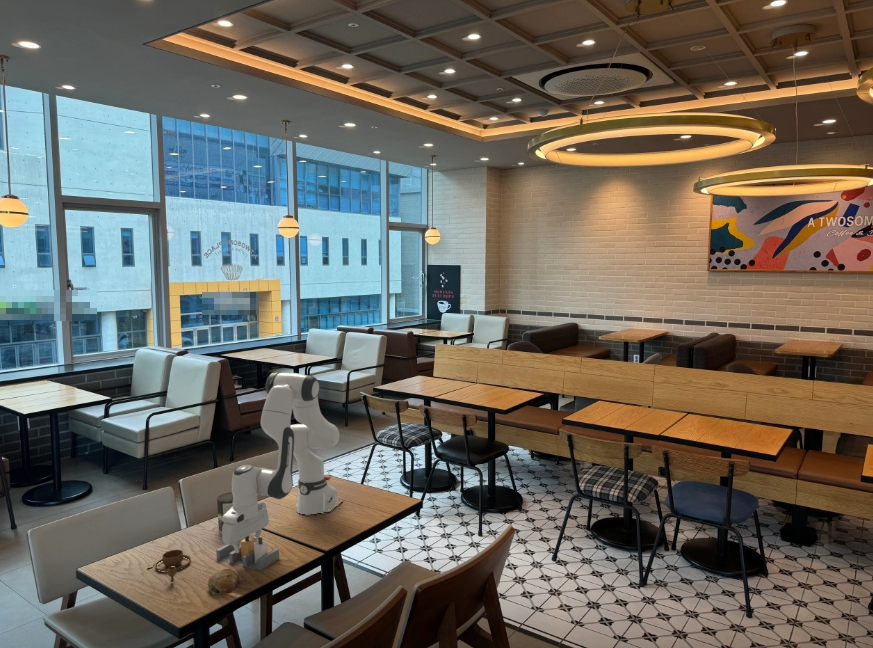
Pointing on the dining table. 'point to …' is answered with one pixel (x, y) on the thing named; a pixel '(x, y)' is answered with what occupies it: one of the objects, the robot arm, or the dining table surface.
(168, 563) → the place setting
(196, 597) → the dining table surface
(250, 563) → the rack
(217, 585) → the bread roll
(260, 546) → the white plug
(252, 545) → the orange plug
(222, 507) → the coffee can
